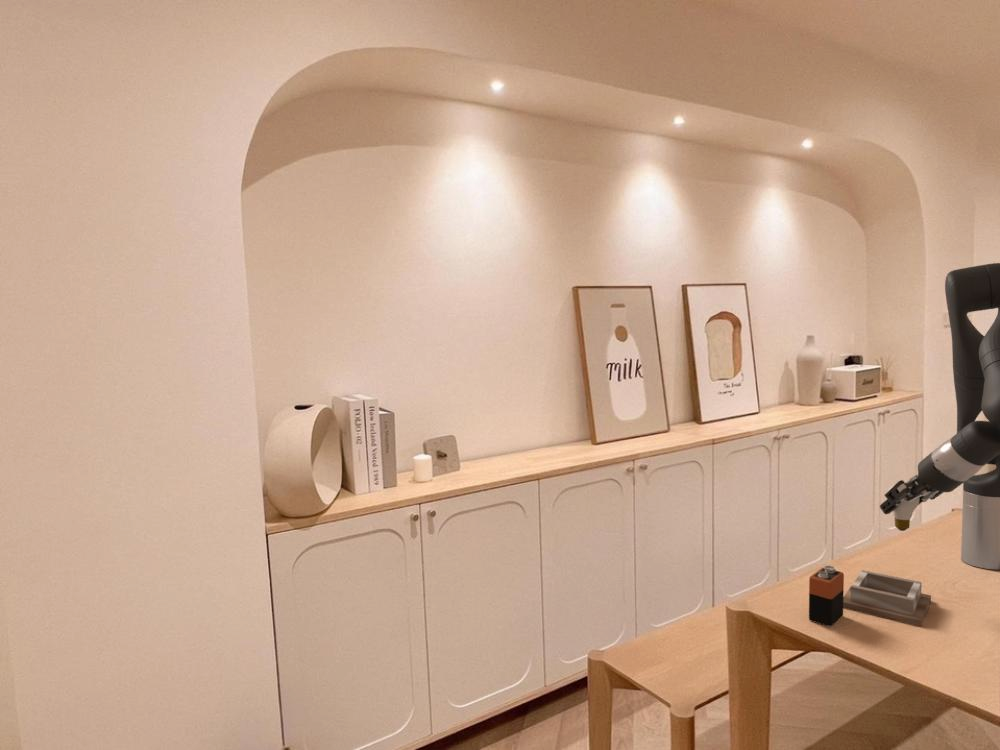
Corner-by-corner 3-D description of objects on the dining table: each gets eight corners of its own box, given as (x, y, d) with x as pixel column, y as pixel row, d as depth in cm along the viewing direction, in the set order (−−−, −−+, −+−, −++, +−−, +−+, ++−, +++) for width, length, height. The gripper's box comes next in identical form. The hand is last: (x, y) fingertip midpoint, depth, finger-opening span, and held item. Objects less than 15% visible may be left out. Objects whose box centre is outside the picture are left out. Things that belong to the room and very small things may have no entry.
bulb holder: (855, 584, 143) (856, 566, 143) (930, 600, 134) (931, 581, 133) (840, 606, 132) (840, 587, 132) (920, 626, 123) (921, 605, 123)
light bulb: (908, 536, 131) (909, 488, 131) (879, 529, 136) (880, 482, 136) (924, 532, 134) (925, 484, 133) (896, 524, 139) (897, 479, 139)
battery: (844, 616, 128) (844, 567, 128) (831, 627, 124) (831, 577, 123) (821, 609, 132) (821, 562, 131) (807, 620, 127) (808, 571, 126)
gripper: (963, 445, 129) (907, 490, 141) (912, 451, 125) (858, 497, 136) (990, 476, 125) (930, 520, 137) (938, 484, 120) (880, 528, 132)
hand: (894, 508), depth 137 cm, fingers closed on light bulb, 6 cm apart
